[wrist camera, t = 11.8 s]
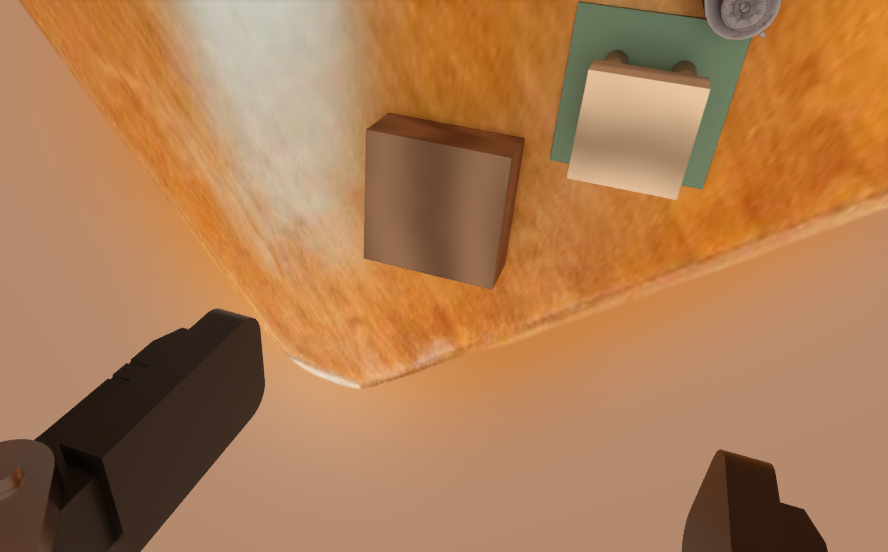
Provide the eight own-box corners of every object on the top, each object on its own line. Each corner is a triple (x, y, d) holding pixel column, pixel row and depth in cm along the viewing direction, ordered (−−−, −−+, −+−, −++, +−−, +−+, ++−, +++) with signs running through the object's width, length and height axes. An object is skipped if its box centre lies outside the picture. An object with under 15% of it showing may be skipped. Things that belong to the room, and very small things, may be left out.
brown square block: (384, 235, 51) (363, 258, 48) (388, 113, 46) (366, 129, 43) (505, 263, 49) (492, 289, 46) (524, 138, 44) (511, 158, 40)
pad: (550, 157, 44) (549, 159, 43) (579, 1, 38) (578, 2, 38) (702, 187, 42) (702, 189, 41) (754, 25, 36) (755, 26, 36)
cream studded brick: (603, 42, 39) (588, 69, 33) (706, 57, 37) (710, 89, 31) (583, 137, 42) (566, 178, 36) (677, 154, 41) (676, 200, 34)
